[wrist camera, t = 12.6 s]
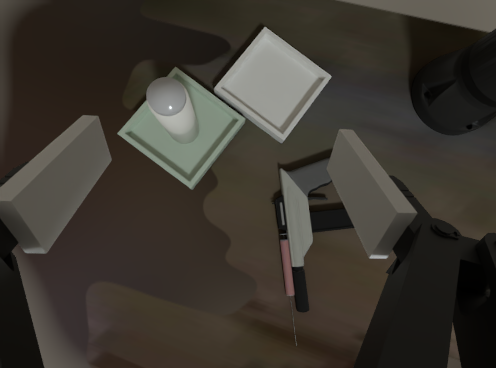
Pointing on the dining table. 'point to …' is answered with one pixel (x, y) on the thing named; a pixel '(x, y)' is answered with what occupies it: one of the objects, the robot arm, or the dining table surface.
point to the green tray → (191, 154)
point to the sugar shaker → (173, 109)
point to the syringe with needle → (303, 223)
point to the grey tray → (272, 84)
